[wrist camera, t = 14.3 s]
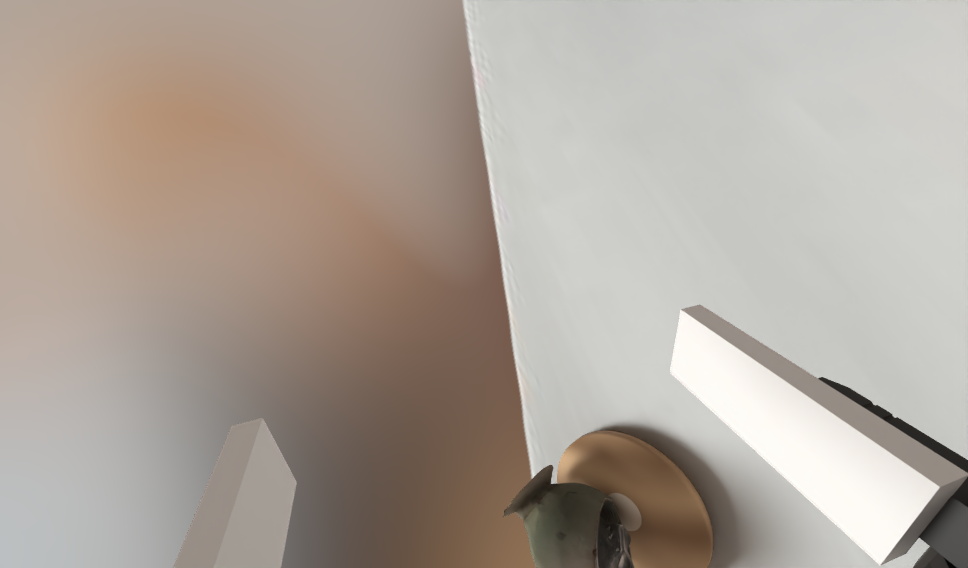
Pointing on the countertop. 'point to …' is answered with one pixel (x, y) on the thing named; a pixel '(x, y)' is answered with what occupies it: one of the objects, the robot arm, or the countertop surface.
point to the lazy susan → (644, 498)
